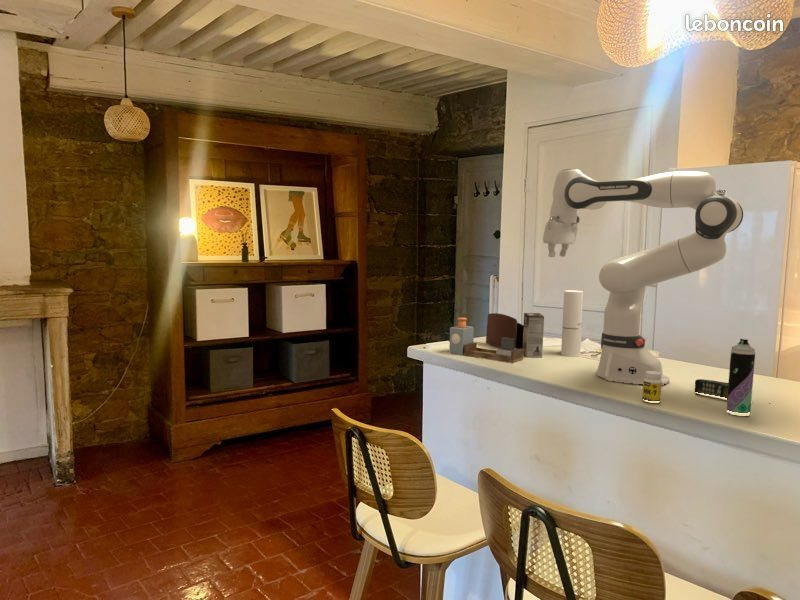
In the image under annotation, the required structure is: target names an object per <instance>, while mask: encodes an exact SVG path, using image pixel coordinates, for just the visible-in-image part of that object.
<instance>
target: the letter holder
mask: <svg viewBox="0 0 800 600" xmlns="http://www.w3.org/2000/svg"><path fill="white" fill-rule="evenodd" d="M486 321H487V322H486V335H485V344H487V345H490V346H493V347H496V348H501V338H503V337H506V338H513V339H515V341H514V348H516V349H523V326H524V324H522V323H519V322H518V320H517V318H514V317H512V316H509V315H507V314H504V313H498V312H497V313H496V312H495V313H491V312H490V313H488V314H487V320H486Z"/></svg>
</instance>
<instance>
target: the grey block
mask: <svg viewBox="0 0 800 600" xmlns="http://www.w3.org/2000/svg"><path fill="white" fill-rule="evenodd" d="M474 332H475V327H474V326H470V325H469V326H468V325H466V328H458V325H456V326H451V327H449V352H450V353H449V352H448V353H449V354H454V355H460V356H465V355H464V345H466V344H469V343H473V342H475V340H474V335H475V333H474Z"/></svg>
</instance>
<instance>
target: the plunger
mask: <svg viewBox="0 0 800 600" xmlns="http://www.w3.org/2000/svg"><path fill="white" fill-rule="evenodd" d="M457 320H458V321H457V323H458V324H457V326H458V328H466V326H467V320H468V318H467V317H457Z"/></svg>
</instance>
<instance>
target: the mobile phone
mask: <svg viewBox="0 0 800 600" xmlns="http://www.w3.org/2000/svg"><path fill="white" fill-rule="evenodd" d="M728 383H729V382H725V381H716V380H710V379H700V378H699V379H696V380H695V381H694V384H695V385H694V393H695V392H698V393H704V394H709V395H715V396H720V397H725V398H727V396H728Z"/></svg>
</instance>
